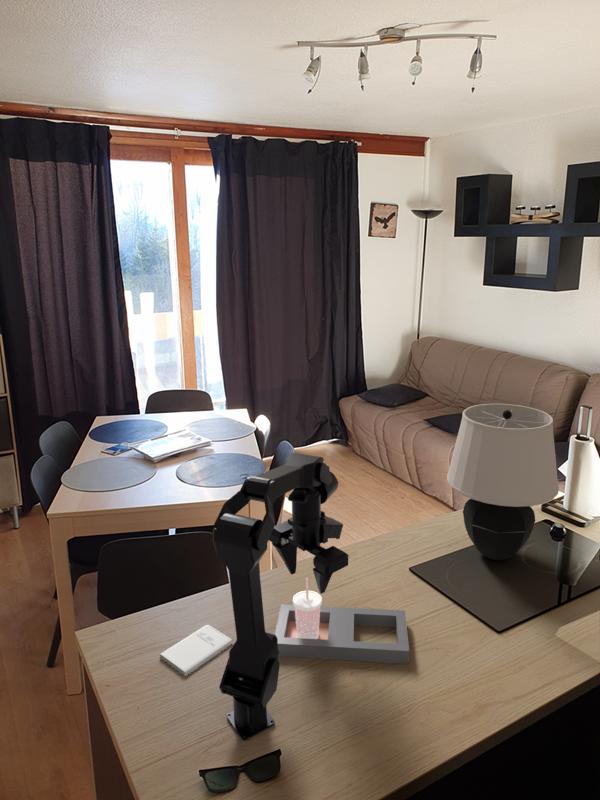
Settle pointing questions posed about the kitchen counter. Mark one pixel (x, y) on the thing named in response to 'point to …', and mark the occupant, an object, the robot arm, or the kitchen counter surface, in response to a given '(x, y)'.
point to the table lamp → (503, 474)
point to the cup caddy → (344, 635)
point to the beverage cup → (307, 613)
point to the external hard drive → (196, 649)
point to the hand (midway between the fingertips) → (307, 582)
